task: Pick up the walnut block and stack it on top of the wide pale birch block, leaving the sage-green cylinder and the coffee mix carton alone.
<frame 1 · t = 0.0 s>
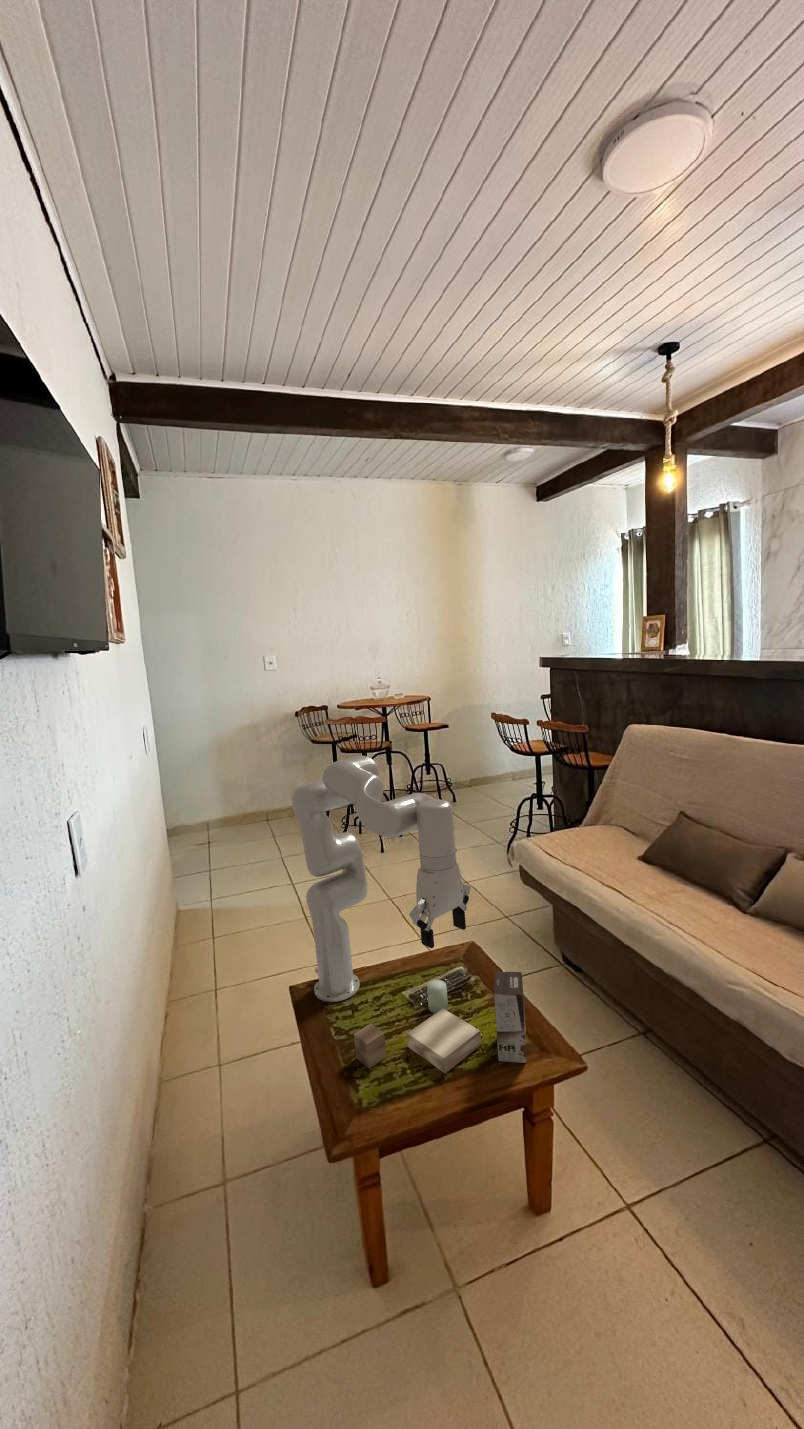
hand: (444, 936, 118), 31 cm above the table, tool pointing down, fingers open, 9 cm apart
birch base: (444, 1047, 130), on the table
sage cylinder: (438, 1007, 144), on the table
coffee box: (512, 1048, 127), on the table
walnut block: (371, 1057, 128), on the table
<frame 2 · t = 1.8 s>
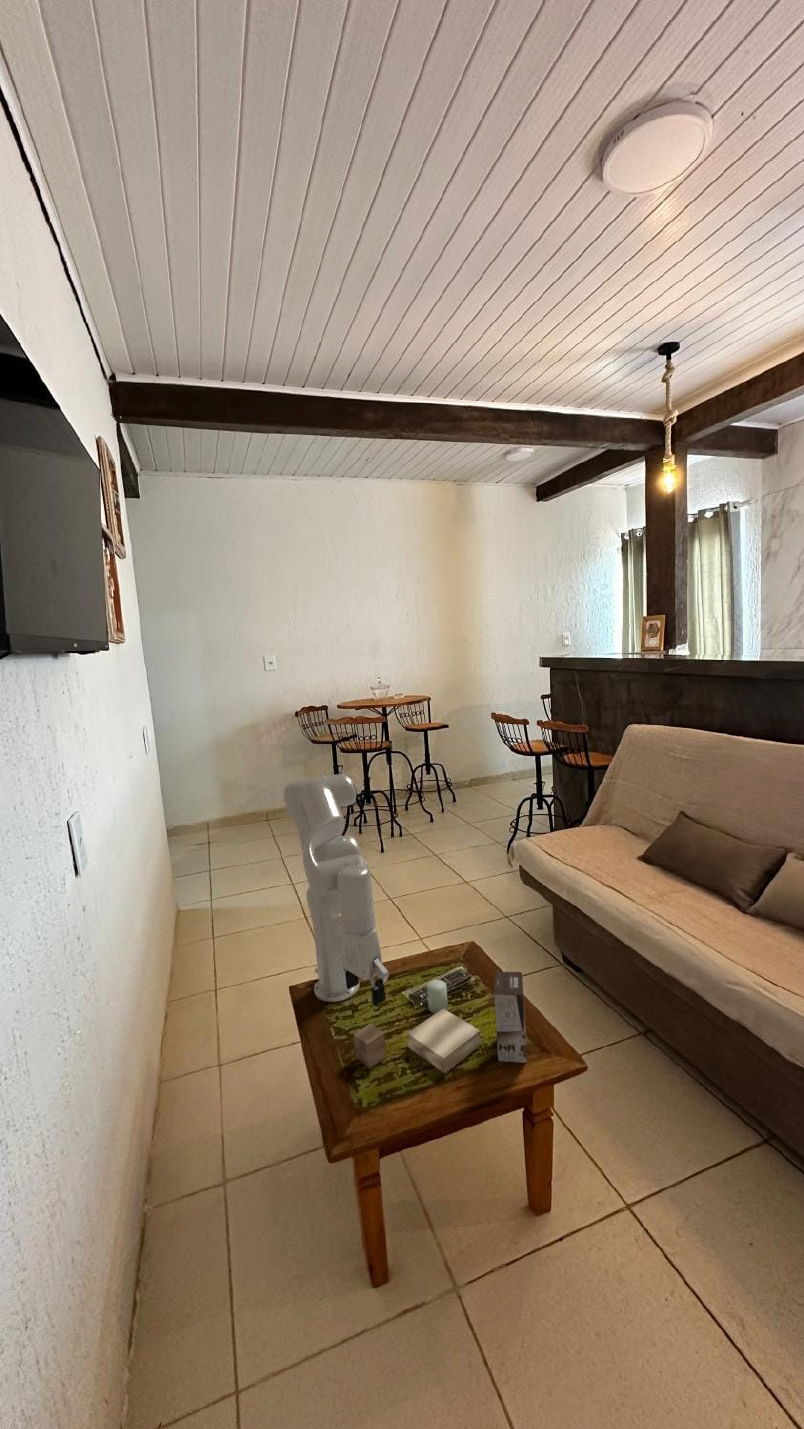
hand: (365, 994, 126), 16 cm above the table, tool pointing down, fingers open, 9 cm apart
nothing on the table moved.
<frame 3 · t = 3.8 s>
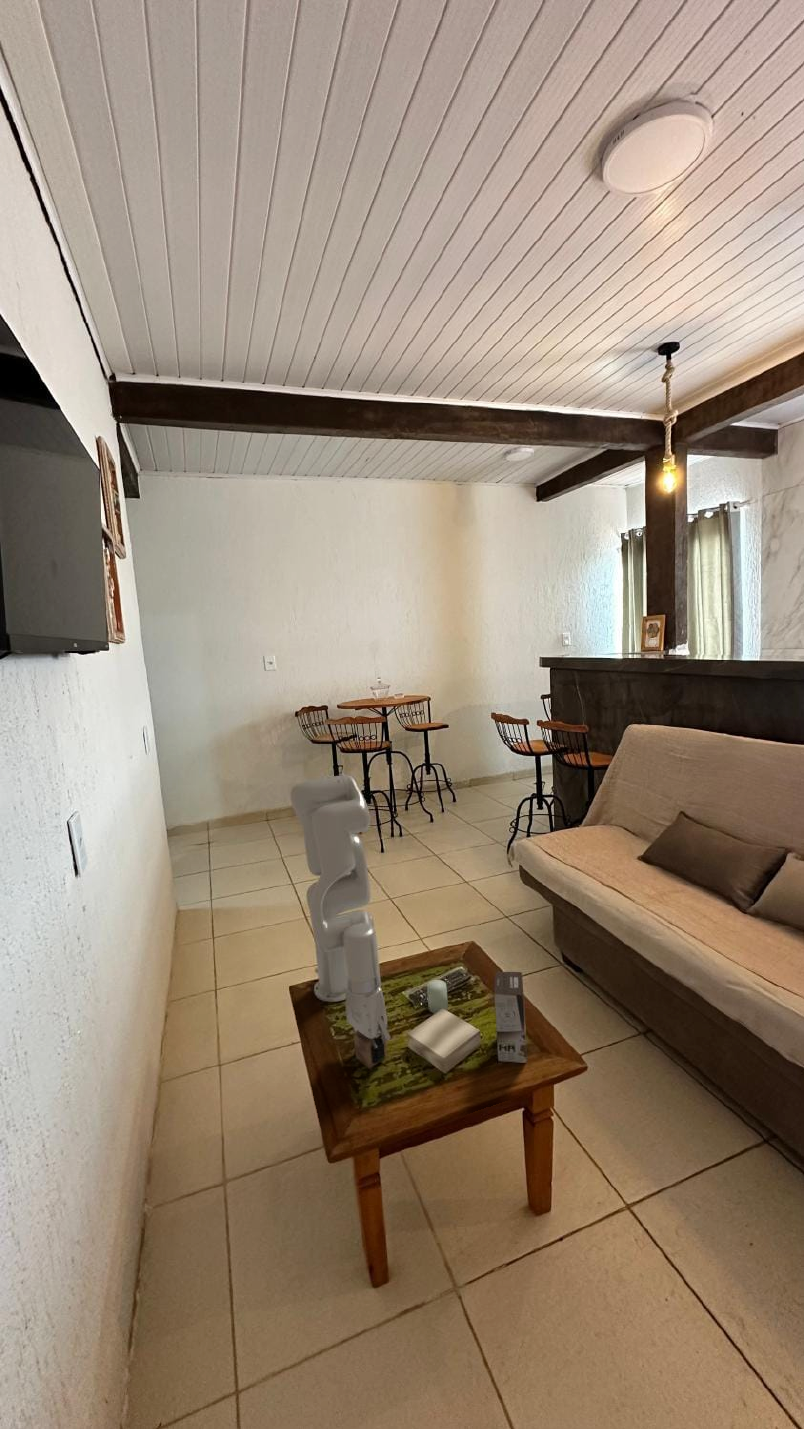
hand: (370, 1053, 128), 1 cm above the table, tool pointing down, fingers closed on walnut block, 5 cm apart
walnut block: (371, 1057, 128), on the table, touching gripper
everything else where it was.
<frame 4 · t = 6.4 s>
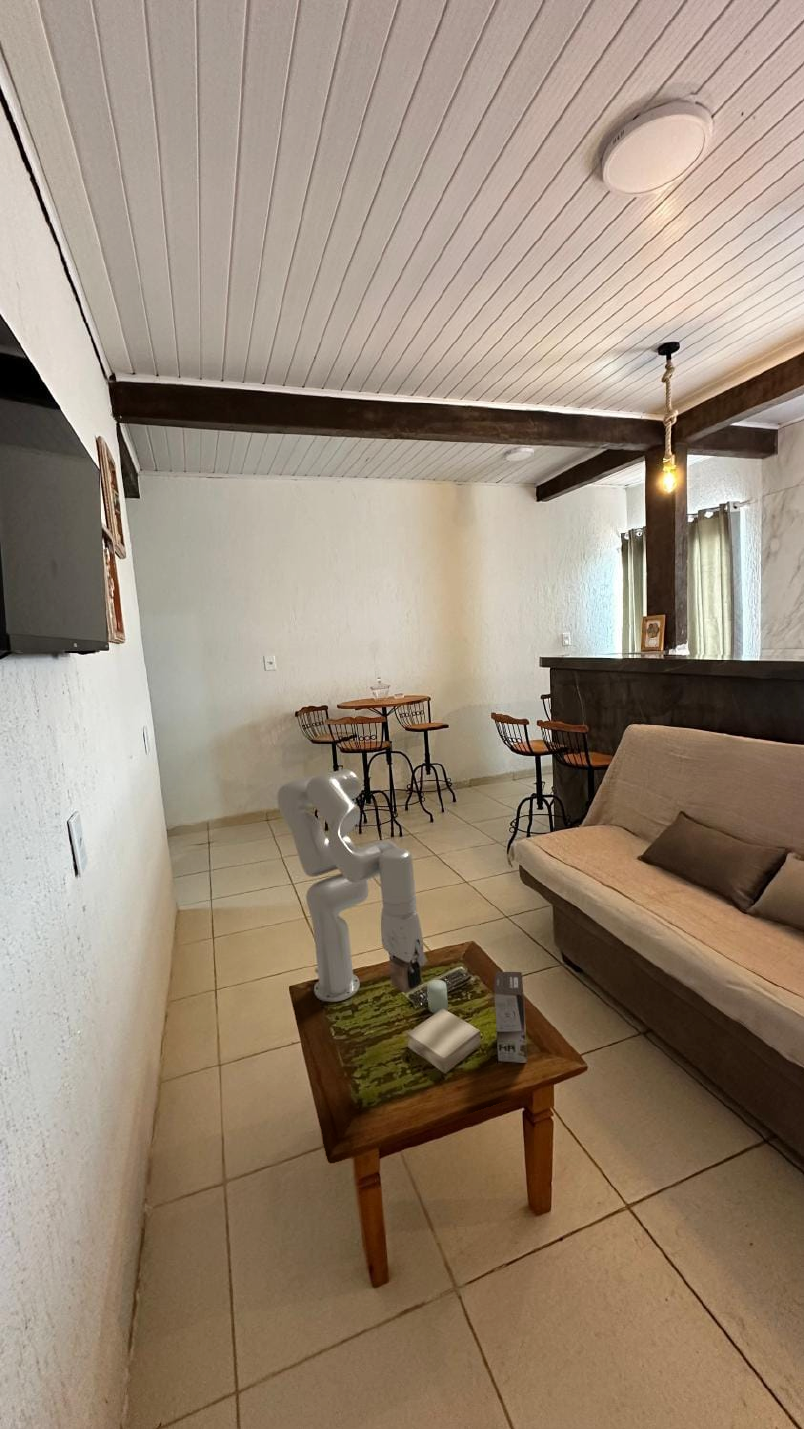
hand: (406, 980, 127), 18 cm above the table, tool pointing down, fingers closed on walnut block, 5 cm apart
walnut block: (406, 984, 127), point 17 cm above the table, touching gripper
everything else where it was.
when the fingers open (6 cm above the table, at t = 9.4 s): walnut block drops 2 cm, point 4 cm above the table.
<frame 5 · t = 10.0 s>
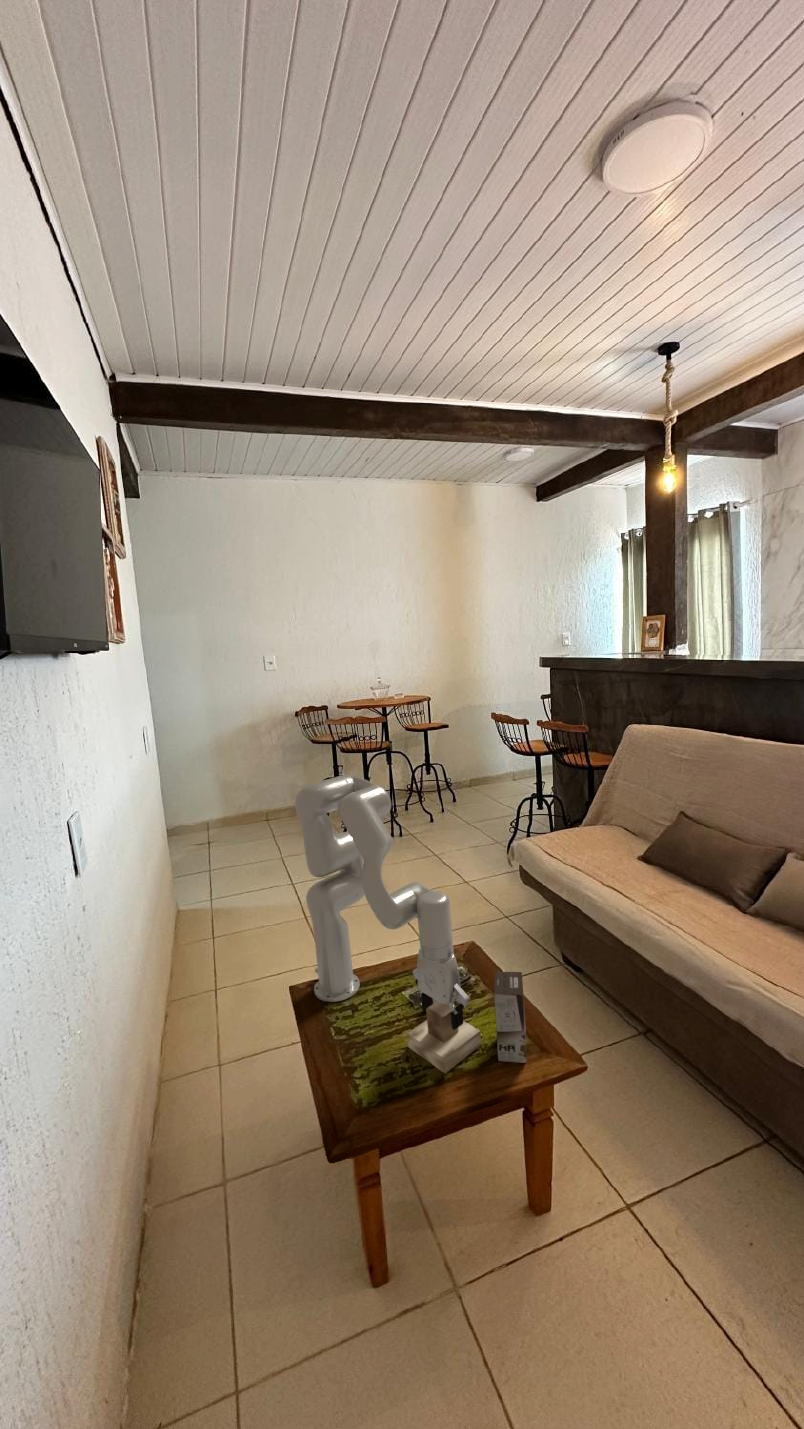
hand: (442, 1016, 129), 7 cm above the table, tool pointing down, fingers open, 9 cm apart
walnut block: (443, 1032, 129), point 4 cm above the table
everything else where it was.
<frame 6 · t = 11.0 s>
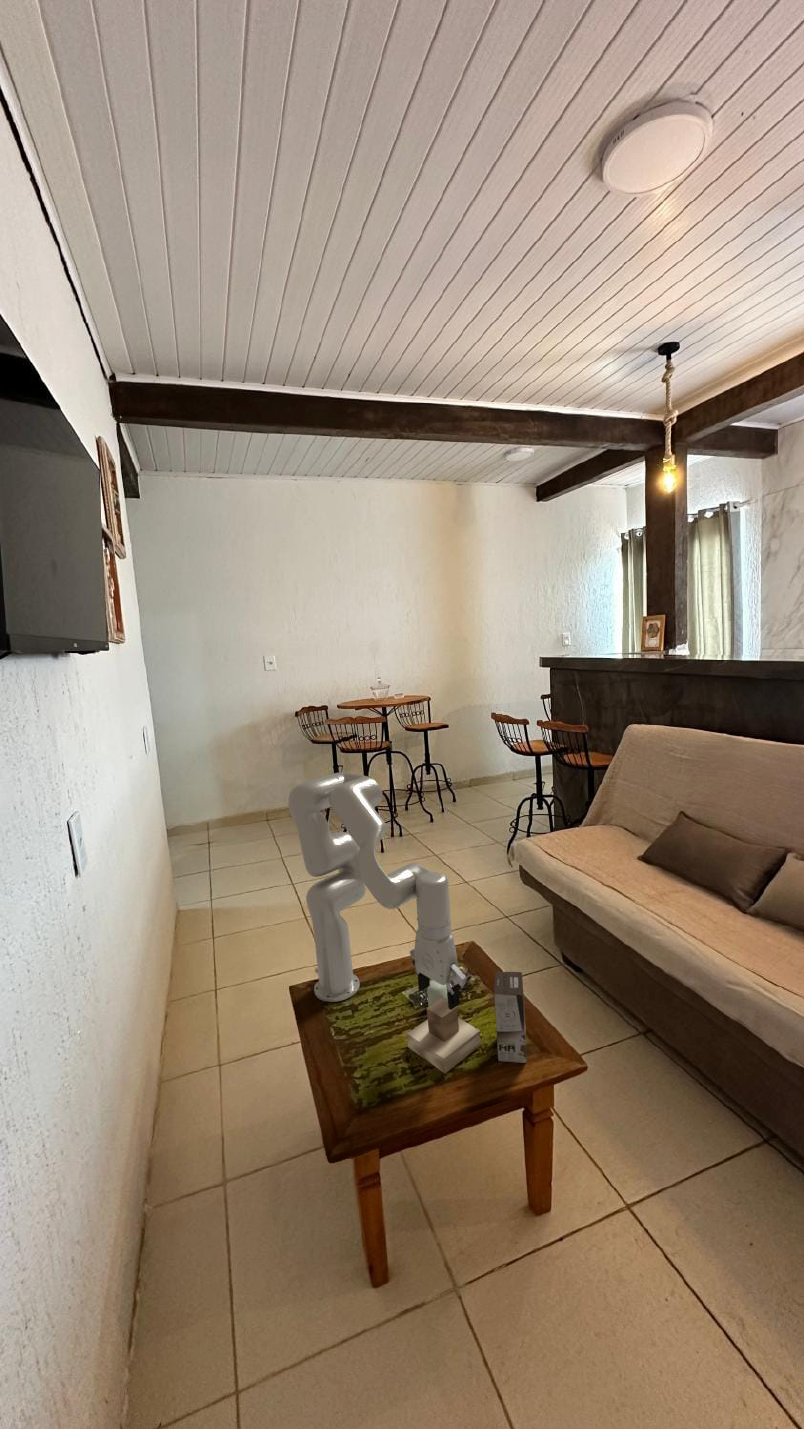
hand: (438, 997, 129), 12 cm above the table, tool pointing down, fingers open, 9 cm apart
birch base: (444, 1047, 130), on the table, touching walnut block
walnut block: (443, 1031, 130), point 4 cm above the table, touching birch base
everything else where it was.
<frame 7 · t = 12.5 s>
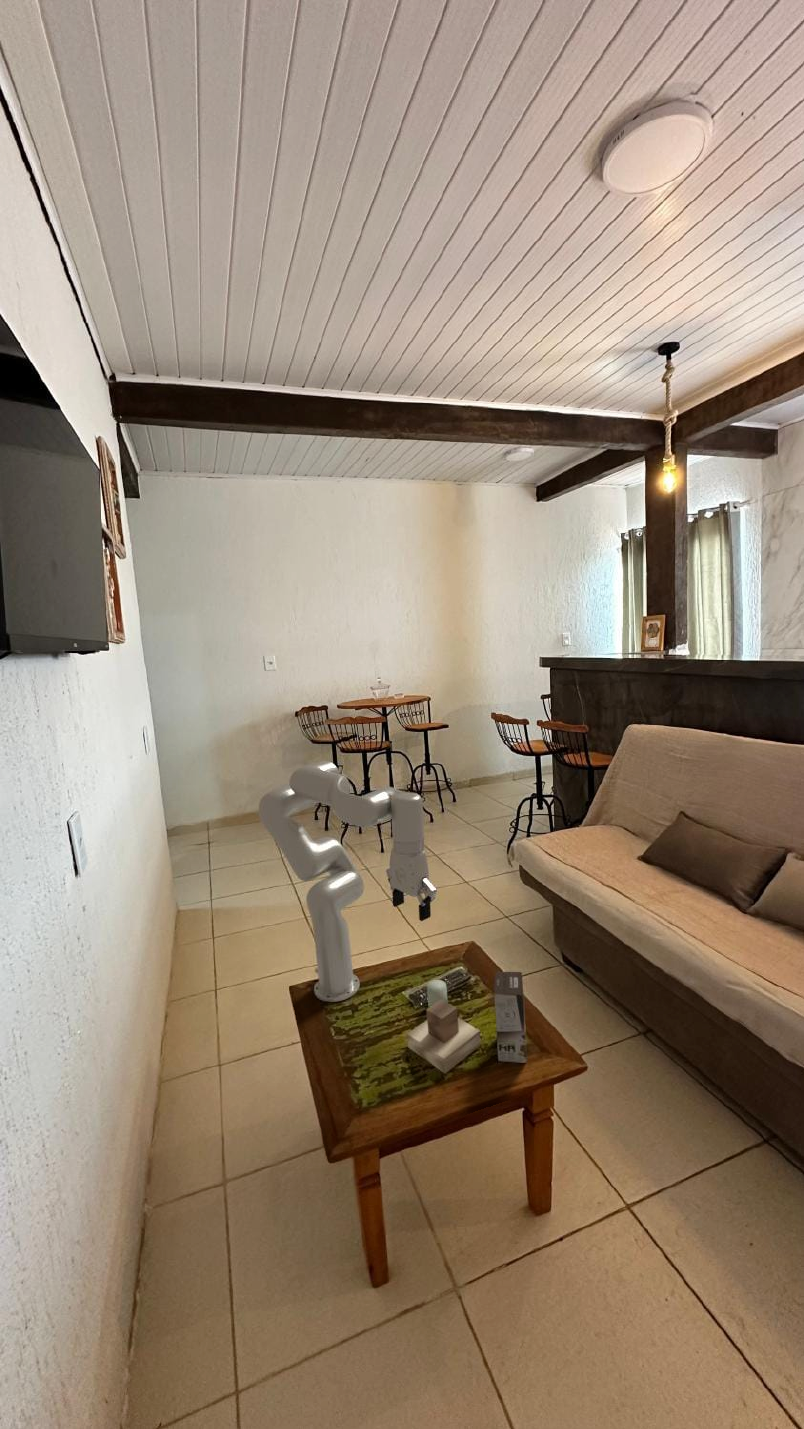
hand: (411, 911, 136), 29 cm above the table, tool pointing down, fingers open, 9 cm apart
birch base: (444, 1048, 130), on the table
walnut block: (443, 1032, 129), point 4 cm above the table
everything else where it was.
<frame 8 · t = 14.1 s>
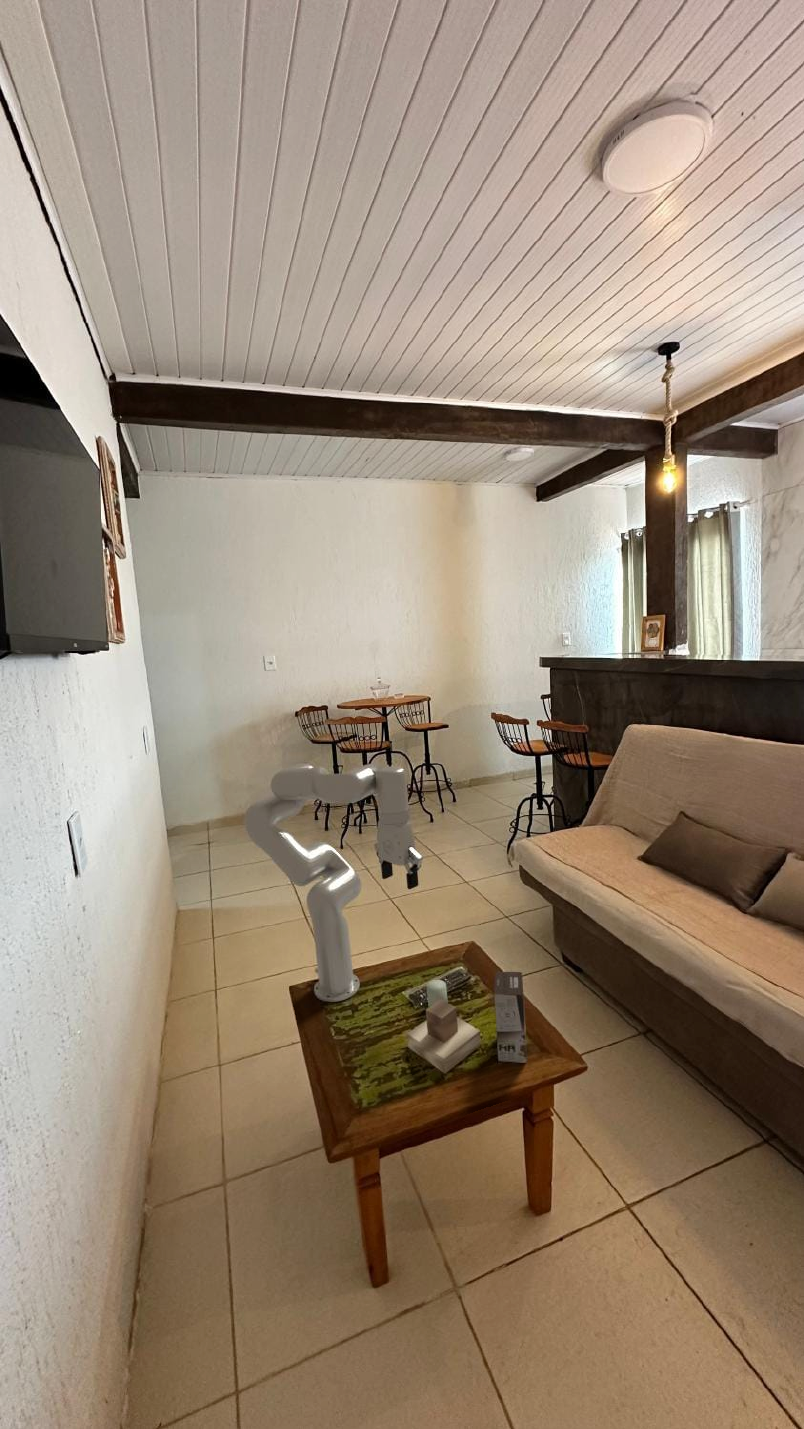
hand: (400, 882, 141), 34 cm above the table, tool pointing down, fingers open, 9 cm apart
nothing on the table moved.
at the end: walnut block inside the target area on the birch base (0.4 cm from its centre), point 4.0 cm above the birch base's base; walnut block tilted 0°; the gripper is holding nothing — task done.
